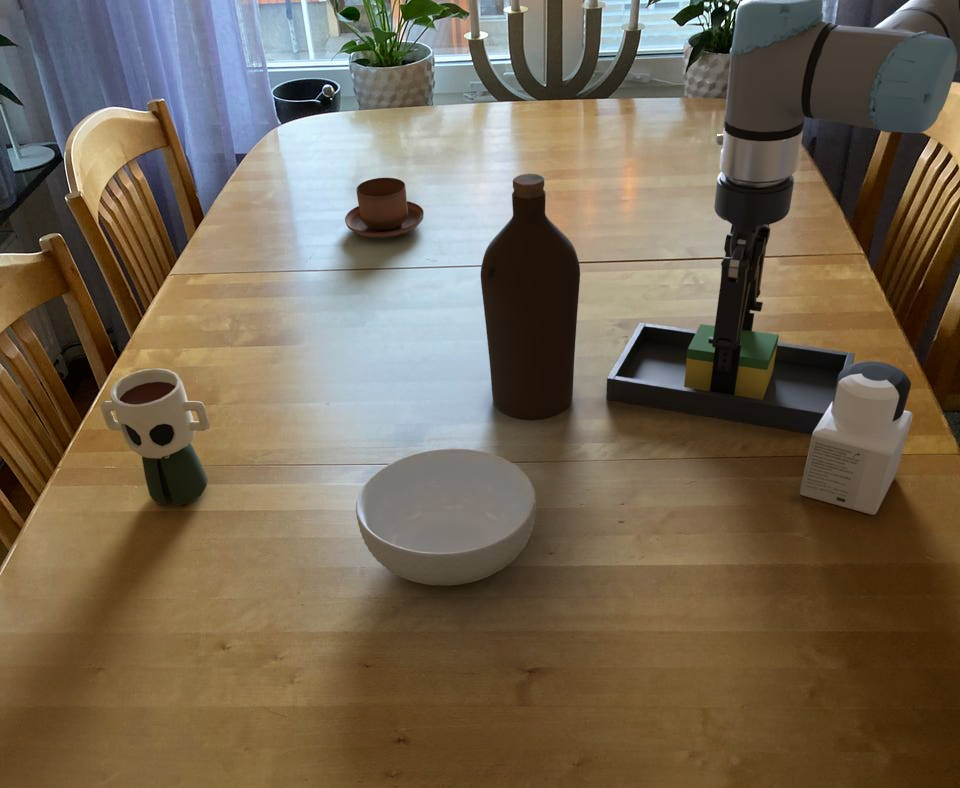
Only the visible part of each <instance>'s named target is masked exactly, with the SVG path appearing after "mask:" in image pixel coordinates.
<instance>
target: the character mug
mask: <svg viewBox="0 0 960 788" xmlns="http://www.w3.org/2000/svg"><path fill="white" fill-rule="evenodd" d="M109 397H110V400H106V401H102V402H99V403H100V411H101V413H102V416H103V417H102V418H103V419H104V422H105V425H106V427H107V428H108V429H109V430H110V431H119V432H120V431H121V434H122V436H123V439H124V442H125V443H126V444H127V446H128V447H129V449H130V450H131V451H133V452H135V453H136V454H137V455H139V456H141V461H142V468H143V472H144V479H145V483H146V487H147V490H148V494H149V497H150V498H151V499H152V501H153V502H154V503H157V504H159V505H161V506H167V503H166V497H167V498H171V499H172V502H173V505H174V506H180V505H181V506H182V505H184V504H188V503H192V502H193V501H194V500H196V499H198V498H199V497H201V496H202V494H203V493H204V491H205V490H206V488H207V485H208V476H207V473H206V472H205V470H204V466H203V465H202V463H201V461H200V459H199V456H198V455H197V453H196V451H195V449H194V446H193V445H192V441H193V440H194V437H195V434H196V432H205V431H207V430H210V427H211V426H210V425H211V424H210V421H209V417H208V414H207V410H206V407H205V404H204V403H203V402H202V401H199V400H188V395H187V393H186V389H185V387H184V384H183V381H182V379H181V377H180V376H179V374H178V373H177V372H174V371H172V370H170V369H168V368H167V369H166V368H159V367H157V368H146V369H145V368H144V369H141V370H137V371H134V372H131V373H128V374H127V375H125V376H123V377H121V378H120V379H118V380H117V381H116V382H115V383H114V384H113V385H112V386H111V388H110V392H109ZM113 412H114V413H115V417H116V419H115V417H114V413H113ZM192 412H195V413H196V415H197V419H198V420H194V416H193V413H192Z"/></svg>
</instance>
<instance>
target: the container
mask: <svg viewBox="0 0 960 788" xmlns="http://www.w3.org/2000/svg"><path fill="white" fill-rule="evenodd" d="M911 387H912V382H911V380H910V377H909V376H908V375H907V374H906V372H905V371H903V370H902V369H901V368H899V367H898V366H895V365H893V364H889V363H886V362H882V361H875V360H873V361H872V360H871V361H869V360H863V361H858V362H853V364H851V365H849V366H847V367H846V368H844V369H843V370H842V371H841V372H840V373H839V375H838V379H837V384H836V388H835V393H834V397H833V401H832V403H831V404H830V406H829V407H828V409H827V411H826V412H825V414H824V415H823V417H822V419H821V420H820V422H819V423H818V425H817V427H816V428H815V430H814V431H813V433H812V434H811V437H810V438H811V439H810V443H809V447H808V453H807V458H806V462H805V466H804V470H803V475H802V480H801V484H800V489H799V494H800V495H801V496H803V497H805V498H810V499H813V500H817V501H821V502H825V503H828V504H831V505H834V506H839V507H843V508H846V509H849V510H852V511H856V512H860V513H863V514H867V515H871V516H874V515H876V514H877V512H878V511H879V509H880V508H881V505H882V503H883V501H884V499H885V497H886V495H887V493H888V491H889V490H890V487H891V485H892V483H893V481H894V480H895V477H896V475H897V472H898V469H899V467H900V466H899V465H900V462H901V459H902V456H903V451H904V449H905V445H906V441H907V439H908V435H909V431H910V428H911V425H912V421H913V419H914V413H913V412H911V411H908V410H905V408H906V405H907V401H908V397H909V394H910V391H911Z"/></svg>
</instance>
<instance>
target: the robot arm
mask: <svg viewBox="0 0 960 788" xmlns="http://www.w3.org/2000/svg"><path fill="white" fill-rule="evenodd" d="M823 2H824V1H823V0H742V1H741V2H740V4H739V6H738V8H737V11H736V12H737V13H736V19H735V25H734V29H733V30H734V31H733V36H732V42H731V47H730V48H729V56H730V57H729V58H730V59H729V68H728V69H729V70H728V78H727V80H728V81H727V89H726V90H727V91H726V103H725V113H724V119H723V131H722V133H721V134H717V137H716V138H715V144H716V145H717V146H722V147H721V148H722V149H721V150H720V155H719V156H720V157H719V166H718V167H719V171H720V173H719V174H718V175H717V179H716V188H715V197H714V198H715V199H714V206H713V207H714V212H715V214H716V215H717V216H718V218H720V219H722V220H723V221H726V222H728V223H730V225H731V227H730V233H727V234H726V236H725V240H724V247H723V250H724V254H725V256H723V258H722V260H721V262H720V266H721V271H720V284H719V291H718V299H717V307H716V314H715V323H714V326H715V329H714V336H713V337H710V338H709V343H710V344H712V347H715V353H714V361H713V369H712V377H711V385H710V391H711V392H717V393H723V394H730V395H734V394H735V387H736V380H737V373H738V366H739V359H740V352H741V345H742V342H741V340H740V337H741V332H742V330H748V331H753V326H754V319H755V312H759V313H760V312H762V308H763V304H764V303H763V301H757V299H758V298H759V296H760V295H761V291H762V290H761V284H762V278H763V272H764V271H763V270H764V263H765V257H766V253H767V252H766V251H767V245H768V242H769V240H770V236H771V227H770V225H772V224H775V223H778V222H780V221H781V220H783V219H785V218H786V217H787V215H789V212H790V209H791V203H792V198H793V193H794V185H795V178H794V176H793V175H794V174H795V173H796V172H797V170H798V165H799V158H800V151H801V146H802V139H803V134H804V126H805V125H804V123H805V118H808V119H813V120H821V121H827V122H834V123H839V124H844V125H845V124H846V125H851V126H856V127H861V128H862V127H863V128H866V129H867V128H868V129H875V130H878V131H880V132H884V133H888V134H889V133H894V132H895V133H908V134H920V133H924V132H926V131H928V130H929V129H930V128H931V127H932V126H933V125H934V124H935V123H936V121H937V120H938V118H939V115H940V113H941V111H943V108H944V106H945V104H946V102H947V99H948V97H949V94H950V91H951V87H952V84H953V80H954V77H955V74H956V73H957V72H959V71H960V0H906V2H905V3H904V4H903V5H902V6H900V8H898V9H897V10H896V11H894V12H893V13H892V14H890V15H889V16H888V17H886V18H885V19H884V20H883V21H881V22H880V23H878V24H877V25H876V26H874V27H865V26H851V25H841V24H838V23H832V22H828V21H823V19H824V13H823V5H824V3H823ZM751 311H753V312H751Z"/></svg>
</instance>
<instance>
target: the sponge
mask: <svg viewBox="0 0 960 788" xmlns="http://www.w3.org/2000/svg"><path fill="white" fill-rule="evenodd" d="M714 329H715V325H711V324H703V323H700V324H699V327H698V328H697V332H696V334H695V336H694V338H693V340H692V342H691V344H690V346H689V348H688V353H687V362H686V372H685V382H684V387H686V388H693V389H699V390H705V391H710V385H711V377H712V369H713V361H714V353H715V347H712V344H710V343H709V338H710V337H713V336H714ZM779 337H780V336H779V334H778V333H777V334H776V333H768V332H761V331H754V330H752V331H748V330H742V332H741V337H740V340H741V342H742V345H741V352H740V359H739V366H738V373H737V380H736V387H735V394H734V395H736V396H742V397H748V398H754V399H760V400H763V397H764V394H765V392H766V389H767V386H768V384H769V381H770V379H771V376H772V373H773V367H774V361H775V355H776V349H777V343H778V342H779Z"/></svg>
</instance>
